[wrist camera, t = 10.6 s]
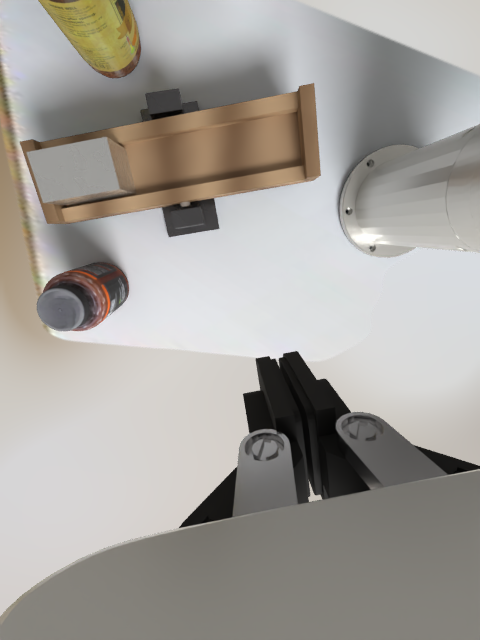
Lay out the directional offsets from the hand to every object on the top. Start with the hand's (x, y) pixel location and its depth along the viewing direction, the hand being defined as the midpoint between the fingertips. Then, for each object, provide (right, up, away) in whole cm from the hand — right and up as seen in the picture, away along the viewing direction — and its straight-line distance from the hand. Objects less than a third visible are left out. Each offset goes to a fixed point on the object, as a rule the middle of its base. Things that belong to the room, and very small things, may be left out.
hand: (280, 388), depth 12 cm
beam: (-8, +19, +20) cm, 28 cm away
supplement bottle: (-18, +7, +25) cm, 32 cm away
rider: (-16, +17, +17) cm, 28 cm away
